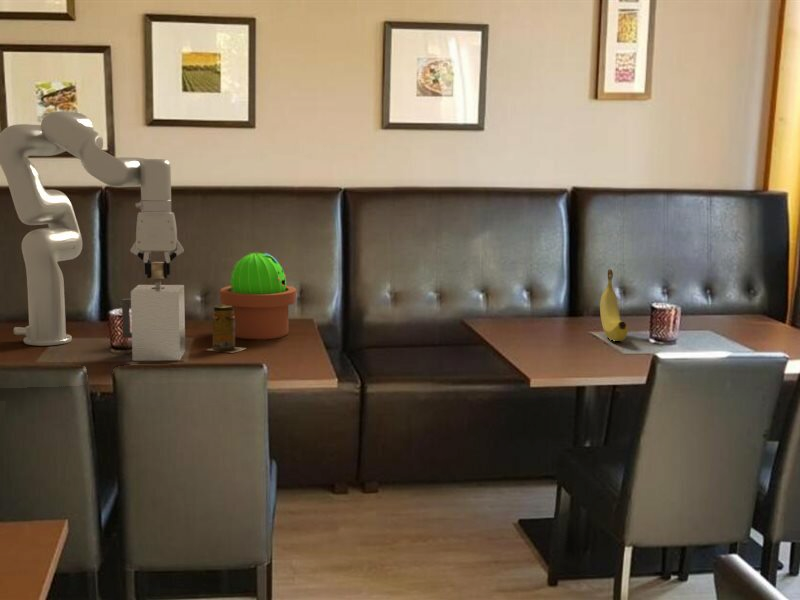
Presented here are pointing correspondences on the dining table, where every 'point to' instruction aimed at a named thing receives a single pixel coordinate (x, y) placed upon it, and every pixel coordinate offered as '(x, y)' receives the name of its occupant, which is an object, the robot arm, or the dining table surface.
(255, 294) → the potted cactus
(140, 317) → the press housing
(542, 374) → the dining table surface
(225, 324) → the condiment
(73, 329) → the dining table surface
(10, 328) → the dining table surface
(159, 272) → the plunger
